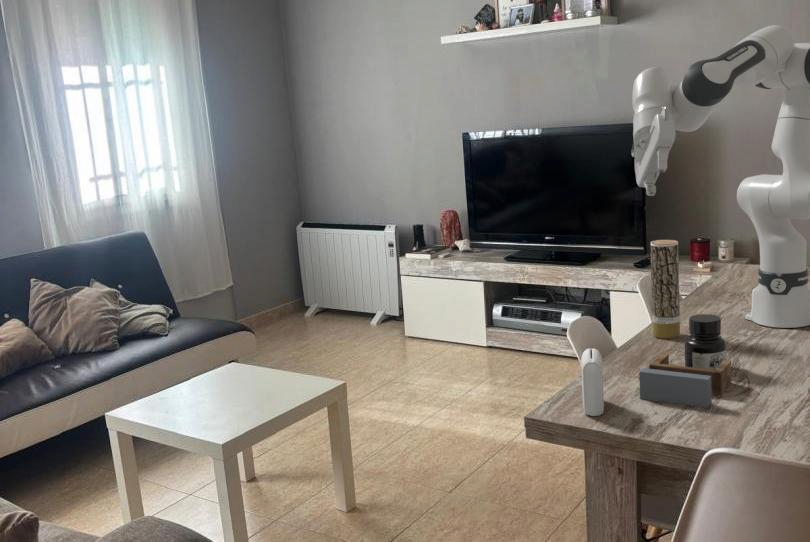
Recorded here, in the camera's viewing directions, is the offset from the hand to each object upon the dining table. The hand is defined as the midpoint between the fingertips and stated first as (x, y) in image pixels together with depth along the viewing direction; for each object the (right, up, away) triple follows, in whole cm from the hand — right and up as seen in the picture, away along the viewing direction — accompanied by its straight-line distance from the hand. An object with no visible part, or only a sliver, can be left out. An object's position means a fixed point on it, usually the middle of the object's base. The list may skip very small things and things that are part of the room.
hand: (656, 182), depth 178 cm
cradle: (+8, -44, +2) cm, 45 cm away
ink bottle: (+14, -42, +11) cm, 46 cm away
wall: (+2, -46, -7) cm, 47 cm away
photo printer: (-15, -48, -7) cm, 51 cm away
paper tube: (+14, -36, +37) cm, 54 cm away
